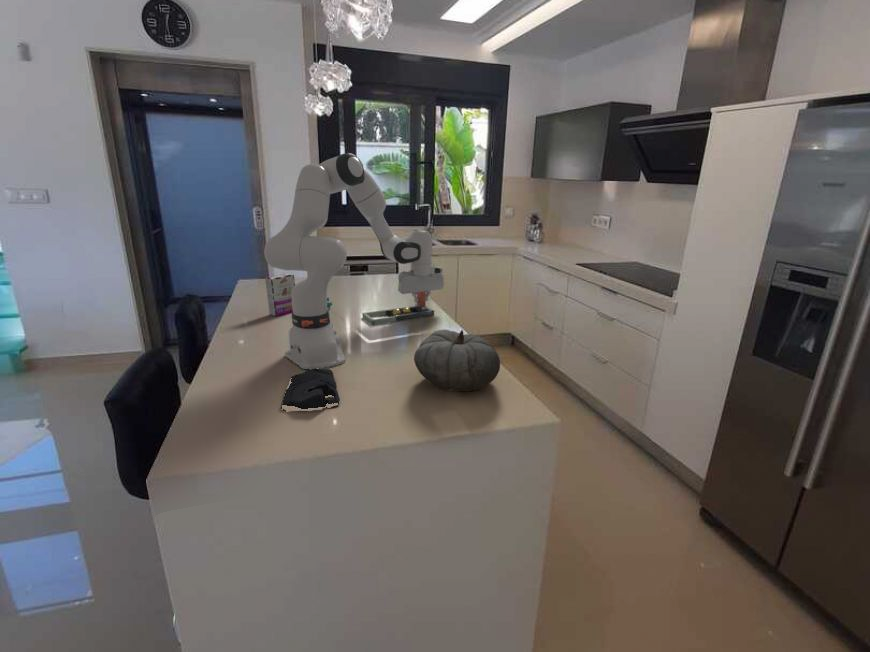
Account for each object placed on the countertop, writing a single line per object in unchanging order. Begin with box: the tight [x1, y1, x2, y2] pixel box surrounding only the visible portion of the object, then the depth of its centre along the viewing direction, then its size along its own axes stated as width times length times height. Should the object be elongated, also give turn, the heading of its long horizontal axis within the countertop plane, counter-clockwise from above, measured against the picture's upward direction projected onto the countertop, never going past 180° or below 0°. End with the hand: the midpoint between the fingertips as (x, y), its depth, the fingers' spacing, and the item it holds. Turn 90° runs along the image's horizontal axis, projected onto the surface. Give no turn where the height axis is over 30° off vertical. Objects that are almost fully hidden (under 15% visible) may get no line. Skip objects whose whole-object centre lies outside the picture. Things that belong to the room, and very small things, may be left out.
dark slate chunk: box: [281, 368, 341, 409], centre depth 126 cm, size 15×22×5 cm
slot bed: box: [385, 305, 435, 322], centre depth 191 cm, size 10×18×3 cm, turn 119°
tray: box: [362, 309, 397, 326], centre depth 185 cm, size 11×10×3 cm
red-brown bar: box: [414, 291, 428, 312], centre depth 192 cm, size 6×3×10 cm, turn 29°
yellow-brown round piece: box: [402, 306, 411, 314], centre depth 190 cm, size 4×4×4 cm
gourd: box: [413, 328, 501, 392], centre depth 132 cm, size 25×25×17 cm
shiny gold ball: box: [393, 308, 401, 316], centre depth 188 cm, size 4×4×4 cm
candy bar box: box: [264, 272, 296, 317], centre depth 192 cm, size 11×5×16 cm, turn 143°
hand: (421, 301), depth 192 cm, fingers closed on red-brown bar, 3 cm apart
